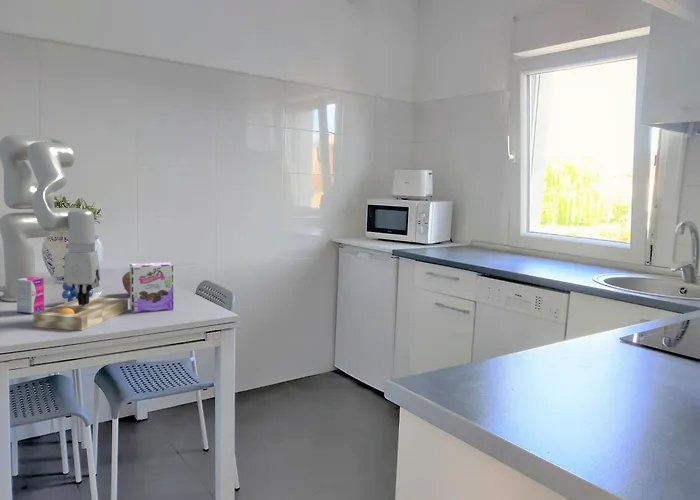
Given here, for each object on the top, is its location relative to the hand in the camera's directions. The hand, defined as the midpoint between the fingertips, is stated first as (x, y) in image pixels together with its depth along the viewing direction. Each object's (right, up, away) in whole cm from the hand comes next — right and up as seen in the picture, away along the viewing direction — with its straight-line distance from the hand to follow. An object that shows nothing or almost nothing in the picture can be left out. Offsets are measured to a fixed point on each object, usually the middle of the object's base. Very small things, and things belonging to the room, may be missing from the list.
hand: (83, 304), depth 172 cm
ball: (-2, -3, -6) cm, 7 cm away
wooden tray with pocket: (0, -5, +1) cm, 5 cm away
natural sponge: (+3, 0, +35) cm, 35 cm away
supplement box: (-21, -3, +6) cm, 22 cm away
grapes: (-12, -2, +20) cm, 23 cm away
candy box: (+17, -4, +14) cm, 22 cm away
